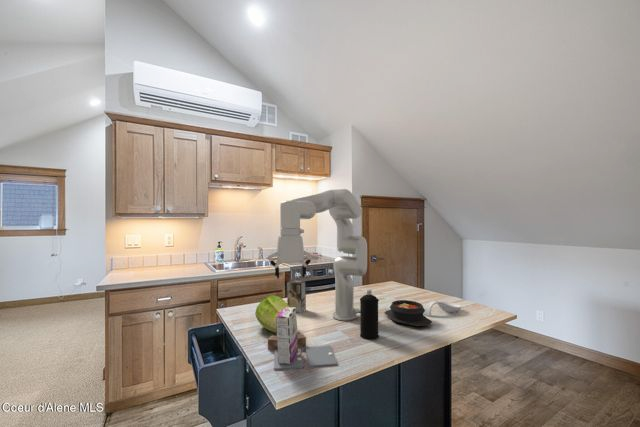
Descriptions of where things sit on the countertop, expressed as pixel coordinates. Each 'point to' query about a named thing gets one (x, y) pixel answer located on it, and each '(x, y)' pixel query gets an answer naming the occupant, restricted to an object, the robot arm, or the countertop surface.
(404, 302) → the casserole
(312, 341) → the countertop surface
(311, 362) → the pad one
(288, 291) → the coffee box
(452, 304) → the white slipper
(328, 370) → the countertop surface
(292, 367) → the pad two
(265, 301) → the lettuce
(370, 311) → the aerosol can
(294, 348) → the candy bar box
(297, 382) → the countertop surface
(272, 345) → the walnut cube
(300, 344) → the walnut cube
